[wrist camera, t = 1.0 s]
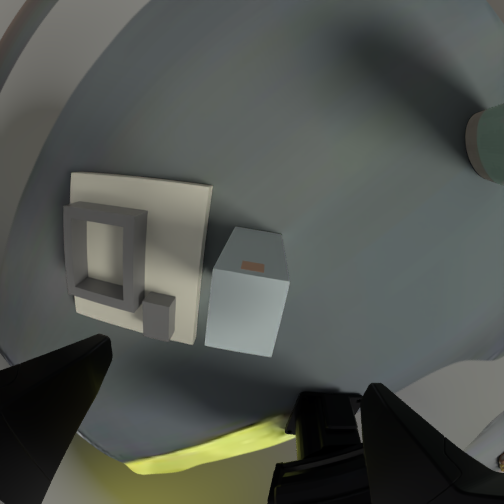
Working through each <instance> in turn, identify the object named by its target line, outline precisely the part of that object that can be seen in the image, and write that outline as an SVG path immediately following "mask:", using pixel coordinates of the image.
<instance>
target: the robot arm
mask: <svg viewBox="0 0 504 504" xmlns="http://www.w3.org/2000/svg"><path fill="white" fill-rule="evenodd" d="M112 356H113V355H112V347H111V340H110V338H109V337H108V336H105V335H102V334H97V335H94V336H91V337H89V338H86V339H84V340H81V341H79V342H76V343H73V344H71V345H68V346H66V347H63V348H60V349H58V350H55V351H52V352H50V353H47V354H44V355H42V356H39V357H36V358H34V359H31V360H28V361H26V362H23V363H21V364H17V365H15V366H12V367H9V368H6V369H3V370H0V504H41V503H42V501H43V499H44V497H45V494H46V492H47V490H48V488H49V486H50V484H51V481H52V479H53V477H54V475H55V473H56V471H57V469H58V467H59V465H60V463H61V460H62V459H63V457H64V455H65V453H66V450H67V449H68V447H69V445H70V443H71V441H72V439H73V437H74V435H75V433H76V432H77V430H78V428H79V426H80V424H81V422H82V421H83V419H84V417H85V415H86V413H87V412H88V410H89V408H90V406H91V404H92V403H93V401H94V399H95V397H96V395H97V393H98V391H99V389H100V387H101V384H102V382H103V380H104V377H105V375H106V373H107V370H108V368H109V366H110V364H111V361H112ZM359 408H360V409H361V424H362V439H363V443H361V440H360V437H359V433H358V429H357V427H358V426H357V422H356V418H355V414H356V413H357V411H358V409H359ZM285 433H286V434H293V435H296V448H297V460H296V461H291V462H286V463H283V462H281V463H277V464H276V467H275V470H274V473H273V478H272V483H271V487H270V491H269V496H268V503H267V504H504V473H499V472H495V471H493V470H491V469H489V468H488V467H486V466H485V465H483V464H482V463H480V462H478V461H477V460H475V459H474V458H472V457H471V456H469V455H468V454H467V453H465V452H464V451H462V450H461V449H460V448H458V447H457V446H456V445H455V444H453V443H452V442H451V441H450V440H448V439H447V438H446V437H444V436H443V435H442V434H441V433H440V432H439V431H438V430H436V429H435V428H434V427H433V426H431V425H430V424H429V423H428V422H427V421H426V420H424V419H423V418H422V417H421V416H420V415H418V414H417V413H416V412H415V411H414V410H412V409H411V408H410V407H409V406H408V405H406V403H404V402H403V401H402V400H401V399H400V398H398V397H397V396H396V395H395V394H394V393H393V392H391V391H390V390H389V389H388V388H387V387H386V386H384V385H383V384H382V383H371V384H370V385H369V386H368V388H367V390H366V391H365V393H364V395H363V396H362V395H348V394H326V393H312V392H302V393H301V394H300V395H299V397H298V399H297V401H296V404H295V406H294V409H293V411H292V413H291V416H290V418H289V420H288V423H287V425H286V427H285Z"/></svg>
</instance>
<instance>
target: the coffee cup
mask: <svg viewBox="0 0 504 504" xmlns="http://www.w3.org/2000/svg"><path fill="white" fill-rule="evenodd" d="M465 143H466V150H467V154H468V157H469V160H470V162H471V164H472V166H473V168H474V169H475V171H476V172H477V173H478V174H479V175H480V176H481V177H483V178H484V179H487V180H490V181H492V182H495V183H497V184H500V185H502V186H504V104H501V105H498V106H495V107H492V108H489V109H486V110H483V111H481V112H478V113H476V114H474V115H473V116H472V117H471V118H470V119H469V121H468V124H467V127H466V133H465Z"/></svg>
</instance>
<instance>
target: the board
mask: <svg viewBox="0 0 504 504" xmlns="http://www.w3.org/2000/svg"><path fill="white" fill-rule="evenodd" d="M212 189H213V186H212V185H205V184H198V183H190V182H182V181H175V180H166V179H158V178H149V177H139V176H129V175H118V174H107V173H94V172H73V173H71V187H70V204H68V205H64V206H63V230H64V253H65V267H66V278H67V287H68V294H71V295H74V297H75V304H76V312H77V313H79V314H82V315H85V316H88V317H91V318H94V319H97V320H101V321H104V322H107V323H110V324H114V325H117V326H120V327H124V328H127V329H131V330H134V331H138V332H141V333H143V336H146V337H149V338H153V339H157V340H161V341H165V342H169V341H170V340H173V341H177V342H182V343H186V344H190V345H193V343H194V341H195V338H196V332H197V320H198V309H199V298H200V288H201V278H202V268H203V259H204V250H205V242H206V234H207V226H208V218H209V210H210V203H211V196H212Z"/></svg>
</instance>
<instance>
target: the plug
mask: <svg viewBox="0 0 504 504" xmlns="http://www.w3.org/2000/svg"><path fill="white" fill-rule="evenodd" d="M289 284H290V278H289V272H288V266H287V260H286V254H285V248H284V242H283V237H282V234H277V233H271V232H265V231H260V230H254V229H248V228H242V227H237V226H235V228H234V230H233V232H232V234H231V235H230V237H229V239H228V241H227V243H226V245H225V247H224V249H223V251H222V252H221V254H220V256H219V258H218V260H217V262H216V264H215V266H214V268H213V273H212V282H211V290H210V299H209V308H208V317H207V327H206V337H205V346H210V347H215V348H220V349H225V350H231V351H236V352H242V353H248V354H254V355H261V356H267V357H271V356H272V353H273V349H274V345H275V341H276V337H277V333H278V329H279V325H280V321H281V317H282V313H283V309H284V305H285V301H286V297H287V293H288V288H289Z"/></svg>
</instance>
